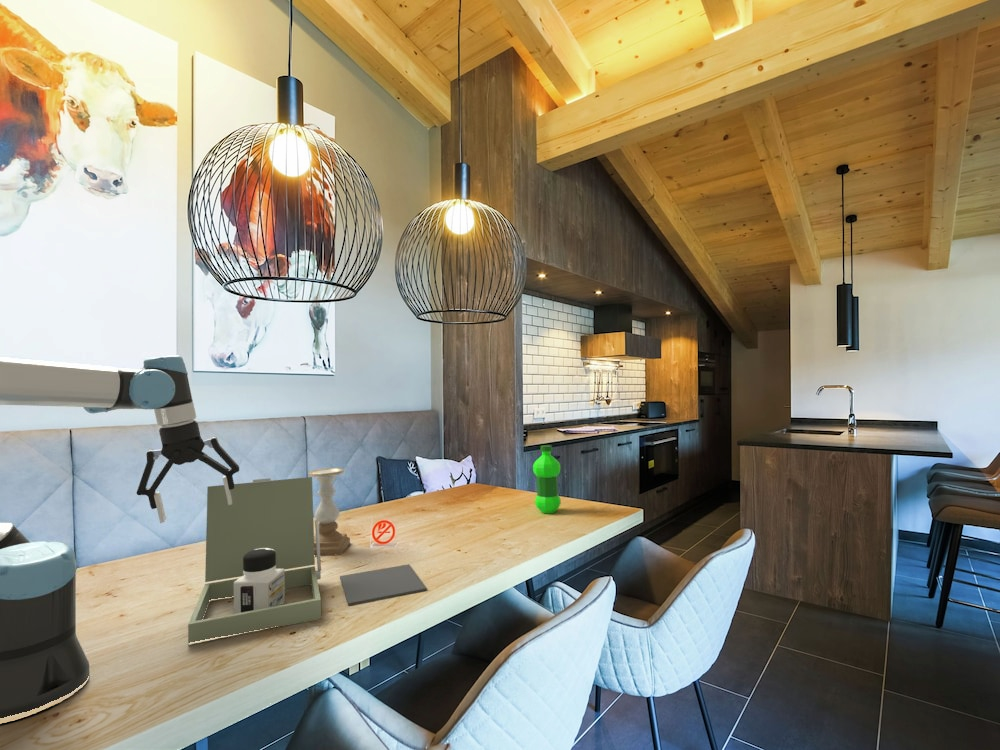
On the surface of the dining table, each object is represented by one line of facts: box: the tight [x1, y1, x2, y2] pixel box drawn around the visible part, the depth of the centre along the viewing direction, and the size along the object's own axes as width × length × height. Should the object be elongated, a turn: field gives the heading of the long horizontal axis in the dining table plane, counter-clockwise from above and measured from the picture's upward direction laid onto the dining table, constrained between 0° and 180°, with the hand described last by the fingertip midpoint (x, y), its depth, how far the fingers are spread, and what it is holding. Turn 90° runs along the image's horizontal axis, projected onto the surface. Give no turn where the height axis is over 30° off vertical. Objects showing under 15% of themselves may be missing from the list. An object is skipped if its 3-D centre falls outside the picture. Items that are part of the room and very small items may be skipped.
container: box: [233, 548, 286, 614], centre depth 110 cm, size 8×8×13 cm
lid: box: [204, 476, 316, 583], centre depth 123 cm, size 23×24×2 cm
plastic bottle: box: [532, 444, 562, 514], centre depth 188 cm, size 10×10×25 cm
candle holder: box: [307, 467, 351, 556], centre depth 150 cm, size 11×11×24 cm
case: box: [187, 519, 322, 644], centre depth 111 cm, size 25×25×15 cm
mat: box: [339, 563, 428, 606], centre depth 122 cm, size 18×18×1 cm
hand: (197, 511), depth 115 cm, fingers open, 13 cm apart
